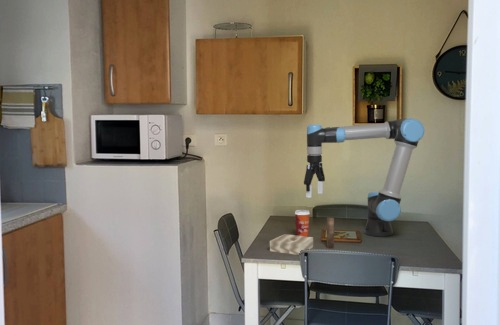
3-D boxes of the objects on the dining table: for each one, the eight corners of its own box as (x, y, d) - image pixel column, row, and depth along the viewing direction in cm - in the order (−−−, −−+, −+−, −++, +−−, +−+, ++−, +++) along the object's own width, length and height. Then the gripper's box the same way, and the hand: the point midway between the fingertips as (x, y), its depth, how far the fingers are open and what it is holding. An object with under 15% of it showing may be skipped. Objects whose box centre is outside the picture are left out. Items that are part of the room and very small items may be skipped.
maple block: (313, 247, 248) (313, 237, 248) (299, 255, 235) (299, 244, 234) (284, 243, 256) (284, 234, 256) (269, 251, 243) (269, 241, 242)
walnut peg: (335, 247, 248) (334, 217, 246) (332, 248, 245) (332, 218, 243) (328, 246, 249) (328, 216, 248) (325, 248, 246) (325, 218, 245)
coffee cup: (300, 241, 261) (300, 212, 260) (291, 237, 268) (291, 210, 267) (313, 239, 265) (313, 211, 263) (304, 235, 272) (304, 208, 271)
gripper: (318, 152, 268) (318, 191, 270) (296, 156, 247) (297, 198, 249) (331, 153, 264) (331, 192, 266) (310, 156, 243) (310, 199, 245)
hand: (314, 195), depth 258 cm, fingers open, 13 cm apart
